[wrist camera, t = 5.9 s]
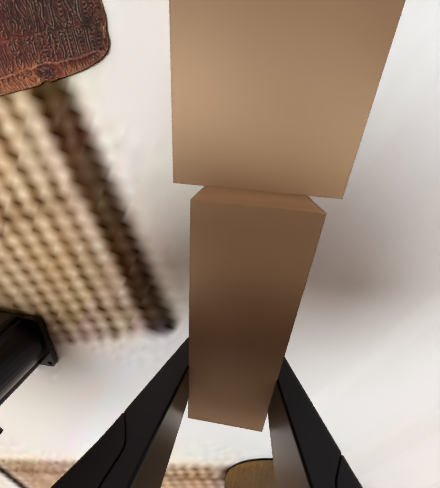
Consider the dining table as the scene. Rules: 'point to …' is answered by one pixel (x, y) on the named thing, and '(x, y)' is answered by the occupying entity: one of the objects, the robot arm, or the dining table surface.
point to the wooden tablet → (48, 40)
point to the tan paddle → (263, 171)
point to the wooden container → (251, 475)
